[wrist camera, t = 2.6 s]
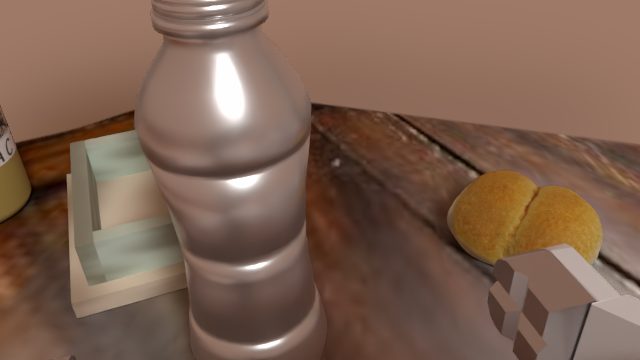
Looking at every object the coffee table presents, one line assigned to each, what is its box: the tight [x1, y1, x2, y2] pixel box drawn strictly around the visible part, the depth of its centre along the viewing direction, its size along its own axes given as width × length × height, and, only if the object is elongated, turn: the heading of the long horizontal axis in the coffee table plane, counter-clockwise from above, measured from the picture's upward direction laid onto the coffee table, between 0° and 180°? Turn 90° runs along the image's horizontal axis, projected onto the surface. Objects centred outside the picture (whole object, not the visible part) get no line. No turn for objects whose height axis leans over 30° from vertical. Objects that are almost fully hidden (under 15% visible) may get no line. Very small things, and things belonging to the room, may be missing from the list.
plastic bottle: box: [134, 0, 327, 360], centre depth 25 cm, size 6×7×20 cm
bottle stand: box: [67, 130, 308, 318], centre depth 39 cm, size 14×14×4 cm
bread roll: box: [447, 170, 603, 266], centre depth 37 cm, size 8×9×4 cm
